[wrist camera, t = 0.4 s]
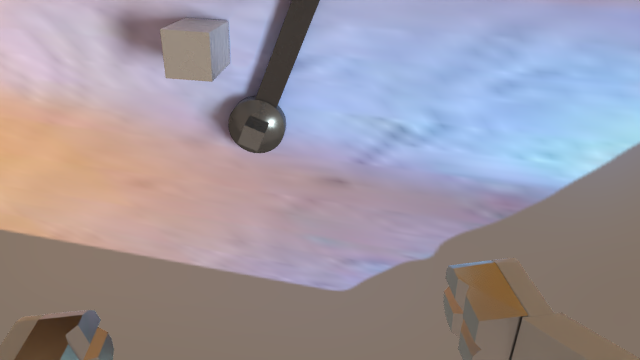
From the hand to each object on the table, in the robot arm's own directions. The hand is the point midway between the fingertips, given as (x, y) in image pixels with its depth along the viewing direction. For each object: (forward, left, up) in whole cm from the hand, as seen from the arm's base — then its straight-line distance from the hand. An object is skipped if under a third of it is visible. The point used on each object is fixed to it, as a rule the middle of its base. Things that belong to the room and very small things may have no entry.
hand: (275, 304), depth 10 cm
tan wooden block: (+3, -14, -44) cm, 47 cm away
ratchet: (+5, -6, -44) cm, 45 cm away
